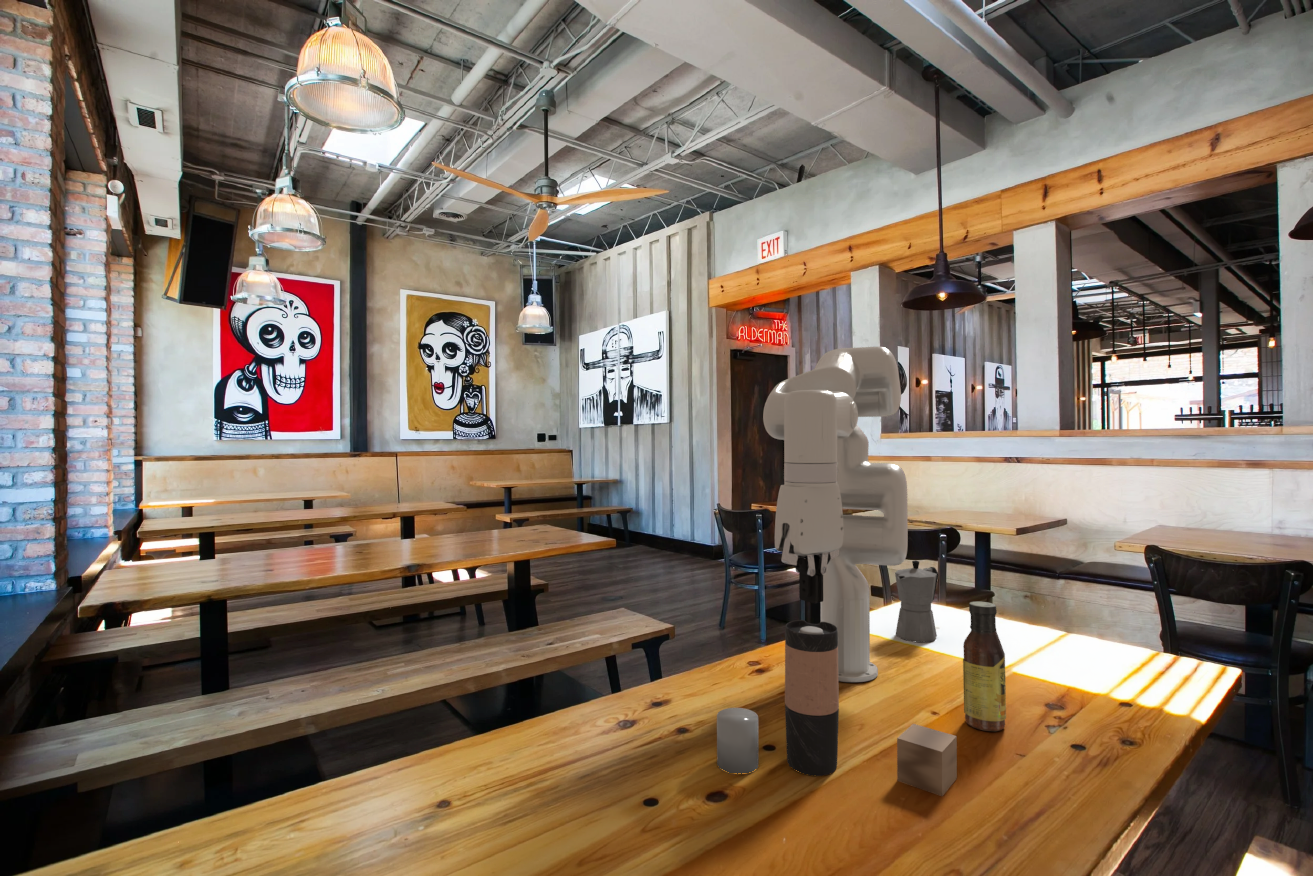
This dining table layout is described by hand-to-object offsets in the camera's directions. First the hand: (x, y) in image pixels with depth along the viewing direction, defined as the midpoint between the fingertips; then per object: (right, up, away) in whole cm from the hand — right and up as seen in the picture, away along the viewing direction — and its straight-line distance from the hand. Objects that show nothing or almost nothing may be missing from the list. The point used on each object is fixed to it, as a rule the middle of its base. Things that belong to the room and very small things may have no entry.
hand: (811, 600), depth 95 cm
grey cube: (+15, -24, -4) cm, 29 cm away
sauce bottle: (+31, -24, +12) cm, 41 cm away
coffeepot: (+40, -24, +60) cm, 75 cm away
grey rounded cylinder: (-11, -24, 0) cm, 26 cm away
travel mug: (0, -24, 0) cm, 24 cm away
